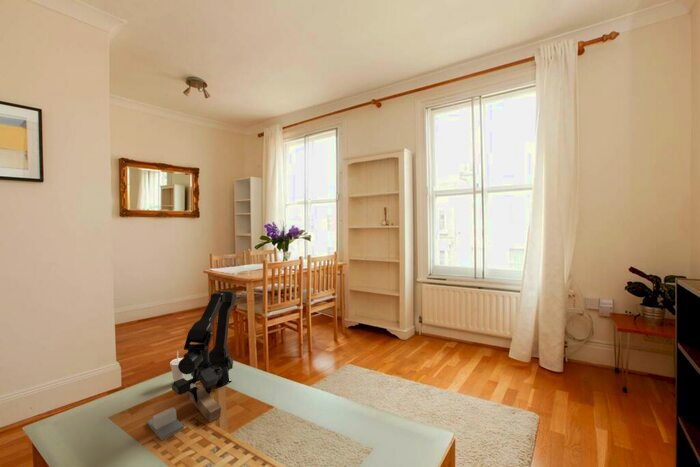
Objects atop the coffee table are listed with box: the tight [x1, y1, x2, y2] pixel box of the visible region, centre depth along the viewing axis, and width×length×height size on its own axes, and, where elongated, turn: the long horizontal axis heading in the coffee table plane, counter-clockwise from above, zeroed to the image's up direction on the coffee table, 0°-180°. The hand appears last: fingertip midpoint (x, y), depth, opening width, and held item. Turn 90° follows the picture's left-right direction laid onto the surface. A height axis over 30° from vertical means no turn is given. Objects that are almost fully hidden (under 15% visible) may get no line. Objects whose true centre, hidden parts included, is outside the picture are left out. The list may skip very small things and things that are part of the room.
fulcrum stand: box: [146, 406, 185, 441], centre depth 110 cm, size 12×7×5 cm, turn 52°
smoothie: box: [169, 350, 186, 383], centre depth 136 cm, size 6×6×14 cm
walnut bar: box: [188, 384, 222, 423], centre depth 119 cm, size 16×4×4 cm, turn 52°
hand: (201, 399), depth 120 cm, fingers closed on walnut bar, 4 cm apart
